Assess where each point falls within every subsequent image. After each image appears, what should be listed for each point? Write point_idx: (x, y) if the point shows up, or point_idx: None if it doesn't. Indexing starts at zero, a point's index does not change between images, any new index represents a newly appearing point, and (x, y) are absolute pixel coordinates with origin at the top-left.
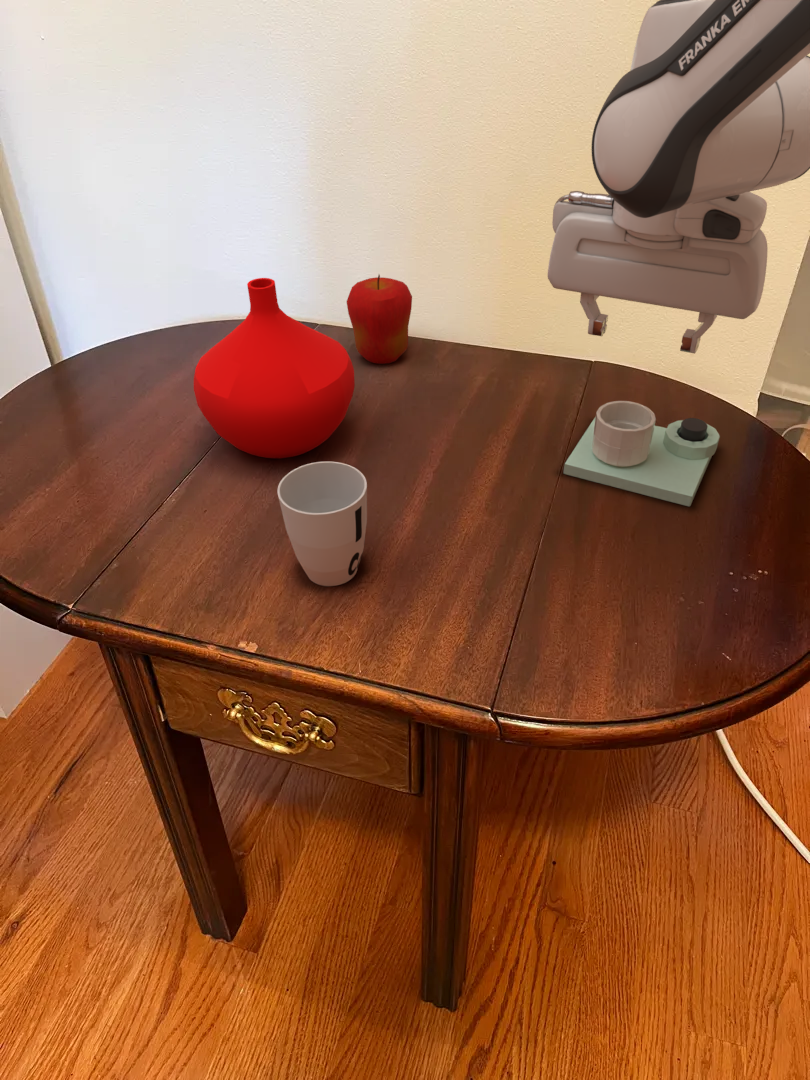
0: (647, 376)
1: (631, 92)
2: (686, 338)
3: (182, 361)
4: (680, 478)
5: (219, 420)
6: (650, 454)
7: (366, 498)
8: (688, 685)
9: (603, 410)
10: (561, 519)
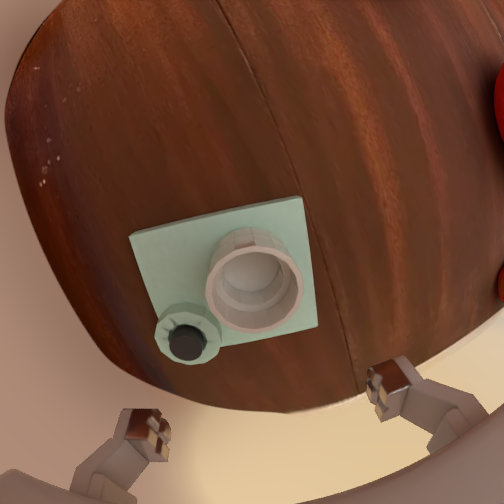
0: (301, 406)
1: None
2: (137, 435)
3: None
4: (158, 262)
5: None
6: None
7: None
8: (53, 25)
9: (296, 290)
10: (247, 106)
